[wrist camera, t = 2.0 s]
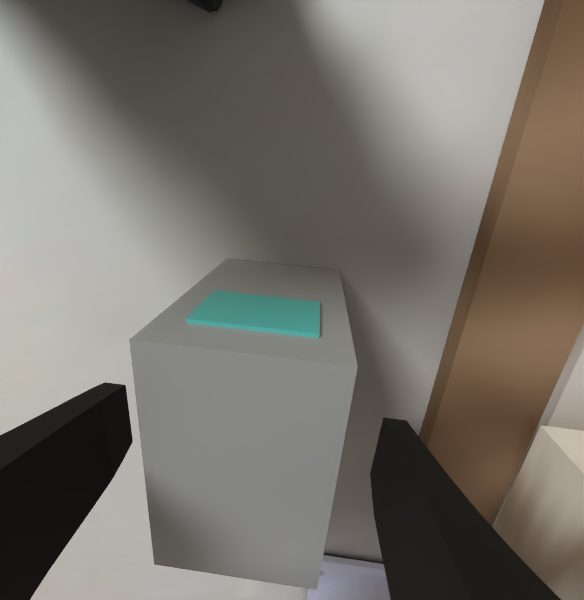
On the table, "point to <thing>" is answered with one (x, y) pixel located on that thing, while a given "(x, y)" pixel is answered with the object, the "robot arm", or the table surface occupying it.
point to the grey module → (246, 420)
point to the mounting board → (526, 325)
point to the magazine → (207, 4)
